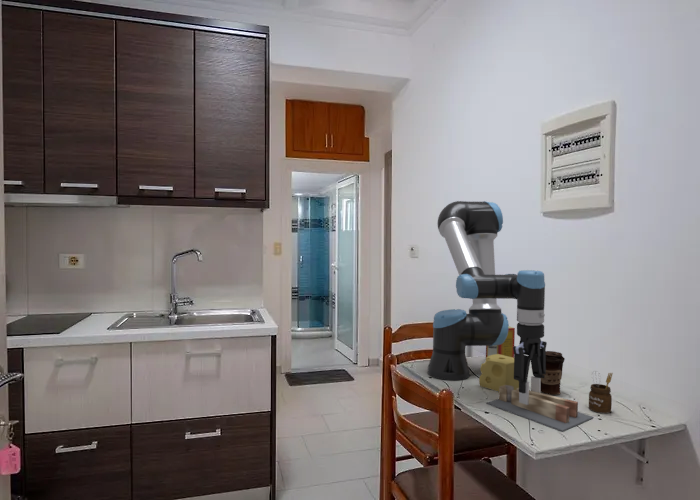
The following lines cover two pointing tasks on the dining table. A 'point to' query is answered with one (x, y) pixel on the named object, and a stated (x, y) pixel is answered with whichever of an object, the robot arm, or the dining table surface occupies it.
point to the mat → (541, 416)
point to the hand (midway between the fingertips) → (529, 400)
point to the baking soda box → (503, 345)
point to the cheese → (498, 372)
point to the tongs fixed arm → (535, 404)
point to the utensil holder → (600, 396)
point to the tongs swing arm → (558, 402)
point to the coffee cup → (552, 373)
